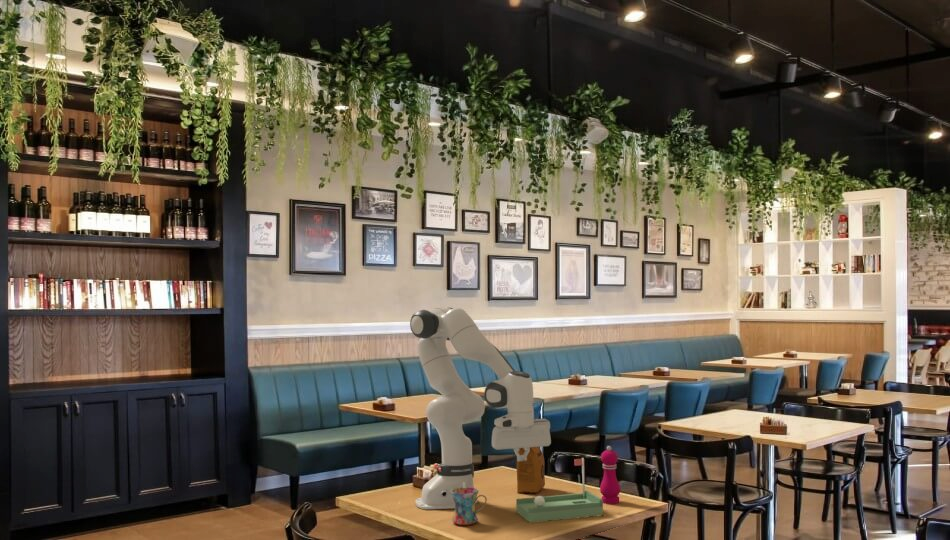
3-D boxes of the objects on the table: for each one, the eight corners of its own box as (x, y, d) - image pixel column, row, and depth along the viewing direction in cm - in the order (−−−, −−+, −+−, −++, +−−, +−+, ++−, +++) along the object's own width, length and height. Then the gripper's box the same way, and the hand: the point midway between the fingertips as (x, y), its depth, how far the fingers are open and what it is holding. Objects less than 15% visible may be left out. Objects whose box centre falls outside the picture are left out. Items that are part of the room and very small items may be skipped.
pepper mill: (607, 505, 288) (606, 448, 288) (596, 501, 294) (595, 445, 295) (624, 503, 291) (623, 446, 291) (613, 498, 297) (611, 443, 298)
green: (529, 522, 268) (528, 470, 268) (516, 512, 281) (515, 462, 282) (602, 515, 274) (601, 464, 275) (586, 505, 288) (585, 457, 289)
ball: (536, 508, 274) (536, 497, 274) (532, 505, 277) (532, 495, 278) (546, 507, 275) (546, 496, 275) (542, 505, 278) (542, 494, 278)
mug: (448, 526, 265) (447, 493, 266) (454, 518, 274) (453, 487, 275) (484, 527, 263) (484, 494, 263) (489, 519, 272) (488, 487, 273)
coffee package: (549, 488, 316) (548, 431, 316) (537, 495, 304) (536, 436, 305) (525, 486, 320) (524, 429, 321) (513, 493, 309) (512, 434, 309)
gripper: (546, 416, 281) (547, 457, 281) (489, 420, 276) (490, 461, 276) (553, 419, 275) (554, 460, 275) (495, 422, 270) (496, 465, 269)
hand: (521, 461), depth 275 cm, fingers closed
